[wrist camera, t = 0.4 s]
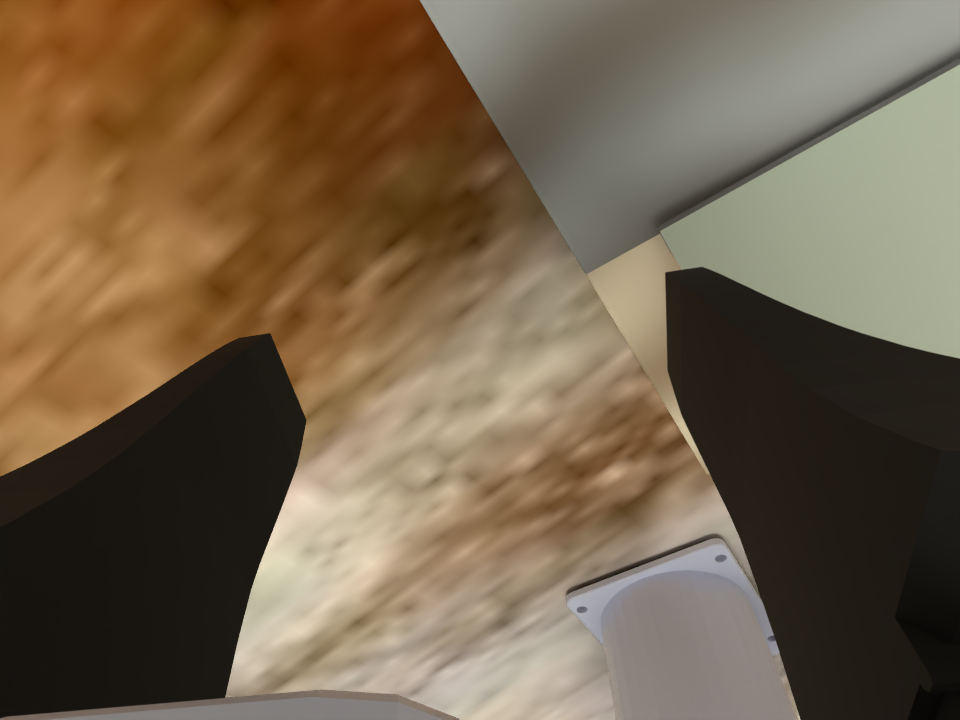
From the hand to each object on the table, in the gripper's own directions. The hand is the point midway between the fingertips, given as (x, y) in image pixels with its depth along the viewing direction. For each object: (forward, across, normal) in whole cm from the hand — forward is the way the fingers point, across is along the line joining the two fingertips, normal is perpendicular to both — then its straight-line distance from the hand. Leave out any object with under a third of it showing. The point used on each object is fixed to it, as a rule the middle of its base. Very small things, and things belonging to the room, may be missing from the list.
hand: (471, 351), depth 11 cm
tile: (+5, -10, +2) cm, 12 cm away
